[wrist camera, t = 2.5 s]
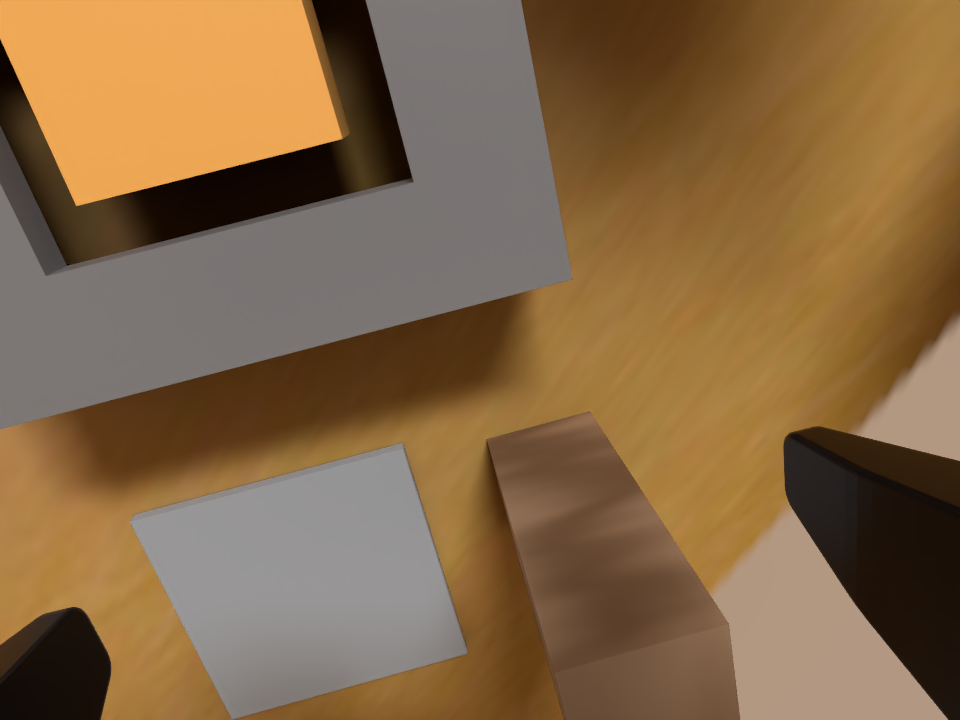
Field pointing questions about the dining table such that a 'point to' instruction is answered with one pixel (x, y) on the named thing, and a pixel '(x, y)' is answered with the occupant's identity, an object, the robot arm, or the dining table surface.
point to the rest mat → (306, 580)
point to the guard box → (305, 237)
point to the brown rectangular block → (610, 583)
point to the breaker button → (170, 86)
